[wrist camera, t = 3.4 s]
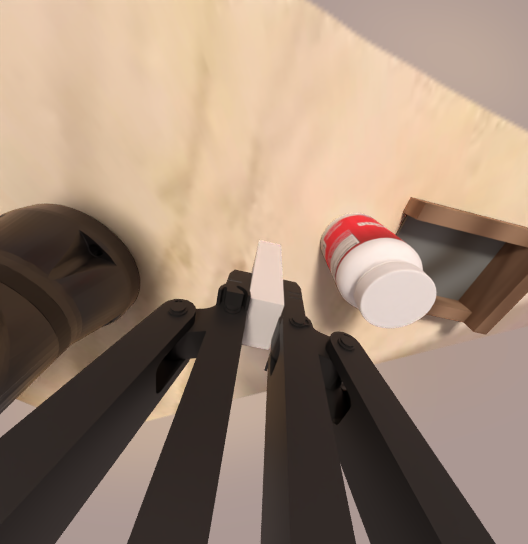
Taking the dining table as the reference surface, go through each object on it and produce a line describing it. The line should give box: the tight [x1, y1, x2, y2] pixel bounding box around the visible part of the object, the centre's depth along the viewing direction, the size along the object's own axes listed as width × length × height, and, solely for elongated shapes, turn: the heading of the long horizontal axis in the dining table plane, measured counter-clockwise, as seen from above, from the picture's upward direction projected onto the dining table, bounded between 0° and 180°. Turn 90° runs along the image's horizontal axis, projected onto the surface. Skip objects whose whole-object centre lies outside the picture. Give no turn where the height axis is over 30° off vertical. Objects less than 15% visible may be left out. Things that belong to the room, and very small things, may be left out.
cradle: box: [396, 197, 528, 334], centre depth 23 cm, size 13×11×4 cm
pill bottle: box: [321, 213, 436, 328], centre depth 19 cm, size 6×6×11 cm
